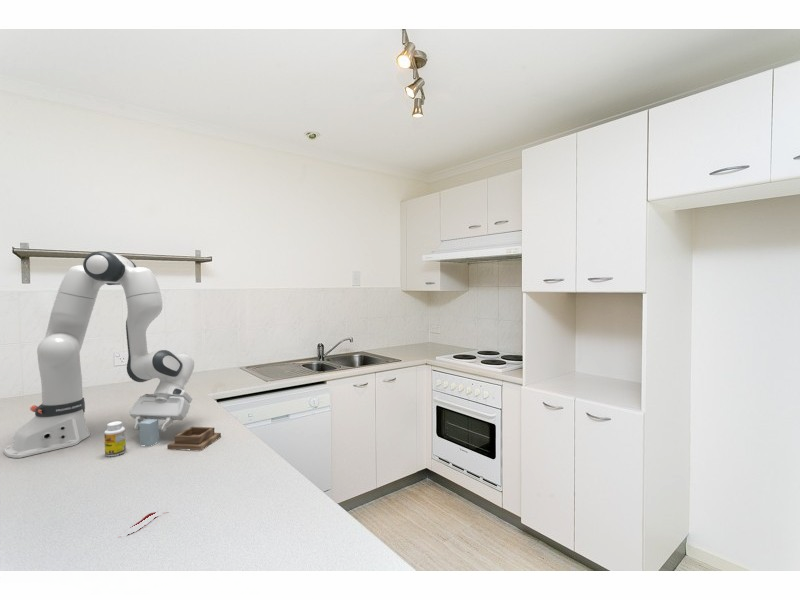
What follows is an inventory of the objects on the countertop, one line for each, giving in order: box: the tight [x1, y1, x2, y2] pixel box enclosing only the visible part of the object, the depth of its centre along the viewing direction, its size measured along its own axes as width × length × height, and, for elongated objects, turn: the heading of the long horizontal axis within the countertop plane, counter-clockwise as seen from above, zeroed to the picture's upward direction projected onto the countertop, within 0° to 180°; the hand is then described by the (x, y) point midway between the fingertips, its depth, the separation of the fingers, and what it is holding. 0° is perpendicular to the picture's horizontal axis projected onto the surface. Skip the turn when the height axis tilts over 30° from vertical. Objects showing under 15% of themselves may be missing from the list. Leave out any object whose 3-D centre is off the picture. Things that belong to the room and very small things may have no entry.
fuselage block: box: [139, 419, 160, 447], centre depth 137 cm, size 4×4×8 cm
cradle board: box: [166, 426, 222, 451], centre depth 138 cm, size 12×12×4 cm
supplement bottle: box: [103, 420, 127, 457], centre depth 130 cm, size 6×6×10 cm
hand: (149, 430), depth 137 cm, fingers open, 8 cm apart
